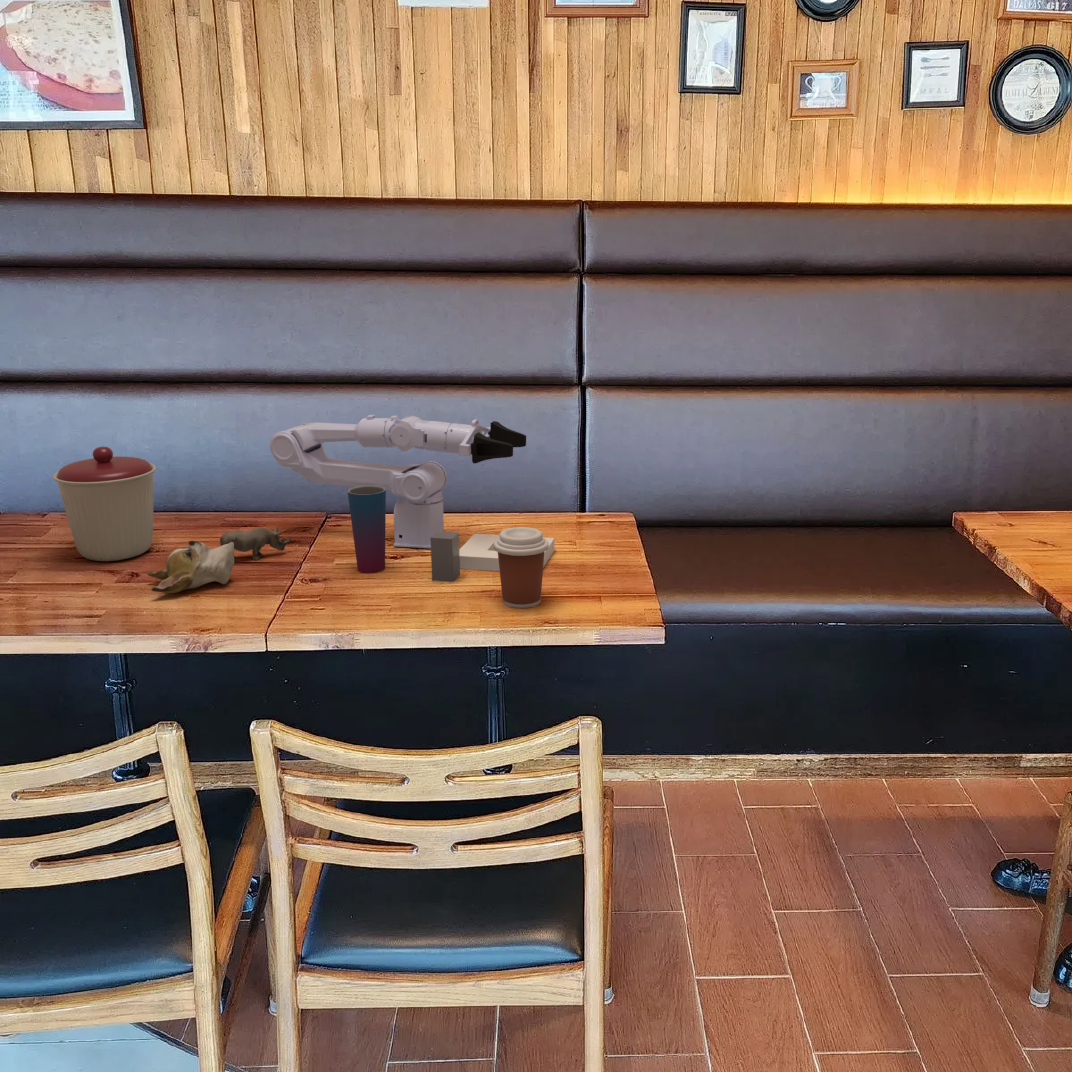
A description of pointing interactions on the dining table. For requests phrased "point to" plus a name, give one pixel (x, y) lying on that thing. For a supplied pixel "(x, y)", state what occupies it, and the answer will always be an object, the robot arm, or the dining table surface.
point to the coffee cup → (521, 565)
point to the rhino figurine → (254, 540)
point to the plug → (445, 556)
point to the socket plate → (488, 553)
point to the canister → (108, 505)
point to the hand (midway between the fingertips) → (519, 445)
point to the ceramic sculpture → (195, 567)
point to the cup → (368, 526)
